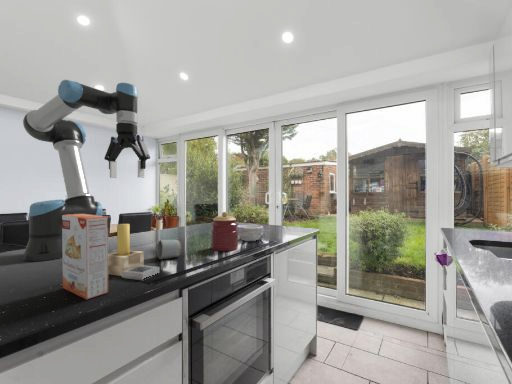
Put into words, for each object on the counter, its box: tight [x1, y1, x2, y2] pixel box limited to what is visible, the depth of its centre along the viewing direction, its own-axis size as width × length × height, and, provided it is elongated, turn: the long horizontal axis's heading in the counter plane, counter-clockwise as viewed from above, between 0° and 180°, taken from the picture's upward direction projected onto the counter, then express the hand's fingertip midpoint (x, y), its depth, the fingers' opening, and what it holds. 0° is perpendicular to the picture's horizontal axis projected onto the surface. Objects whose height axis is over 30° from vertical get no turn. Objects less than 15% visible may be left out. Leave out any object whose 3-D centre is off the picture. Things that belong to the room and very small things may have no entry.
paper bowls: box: [237, 224, 264, 242], centre depth 152 cm, size 15×15×8 cm
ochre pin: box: [116, 223, 131, 256], centre depth 92 cm, size 4×4×16 cm
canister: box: [210, 211, 239, 252], centre depth 129 cm, size 13×13×18 cm
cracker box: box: [62, 214, 109, 300], centre depth 73 cm, size 14×6×21 cm, turn 56°
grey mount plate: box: [121, 264, 160, 281], centre depth 88 cm, size 8×8×2 cm
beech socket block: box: [108, 250, 145, 277], centre depth 92 cm, size 9×9×6 cm
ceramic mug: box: [157, 239, 182, 260], centre depth 112 cm, size 11×8×8 cm
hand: (126, 177), depth 107 cm, fingers open, 13 cm apart
